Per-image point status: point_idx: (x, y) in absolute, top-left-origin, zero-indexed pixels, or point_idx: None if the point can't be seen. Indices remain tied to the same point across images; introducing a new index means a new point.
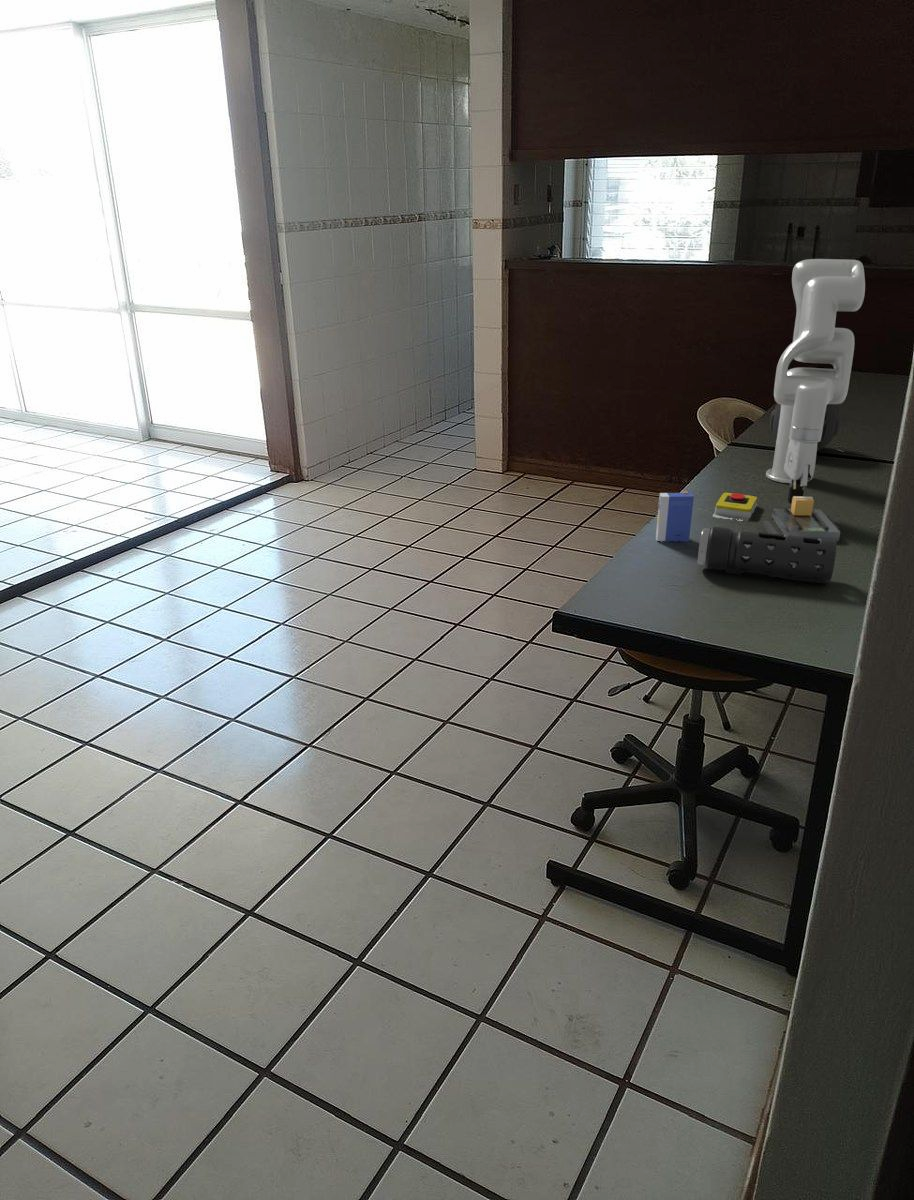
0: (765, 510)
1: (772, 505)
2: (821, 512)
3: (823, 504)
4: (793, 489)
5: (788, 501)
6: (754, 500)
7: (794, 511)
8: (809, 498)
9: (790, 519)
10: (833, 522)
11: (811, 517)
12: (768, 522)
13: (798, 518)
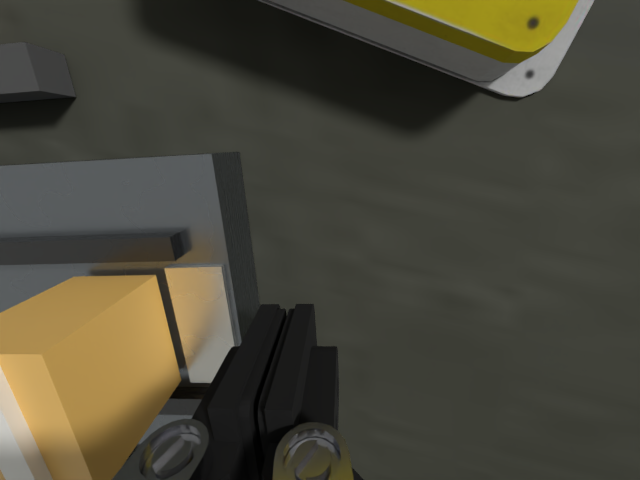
0: (393, 141)
1: (498, 213)
2: None
3: (488, 473)
4: (217, 422)
5: (296, 305)
6: (421, 3)
7: (46, 290)
8: (13, 477)
9: (8, 237)
10: (137, 444)
11: None
12: (7, 80)
13: None
